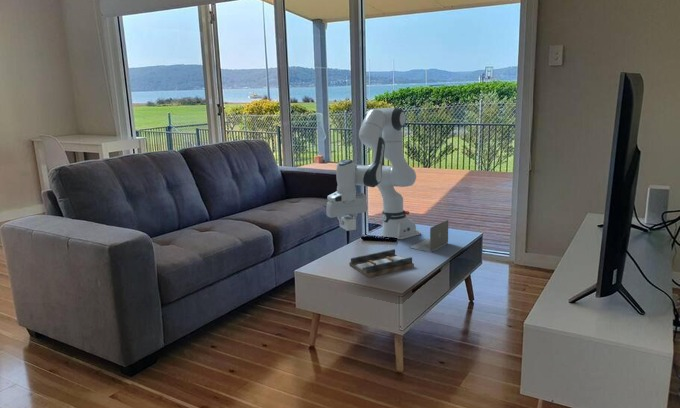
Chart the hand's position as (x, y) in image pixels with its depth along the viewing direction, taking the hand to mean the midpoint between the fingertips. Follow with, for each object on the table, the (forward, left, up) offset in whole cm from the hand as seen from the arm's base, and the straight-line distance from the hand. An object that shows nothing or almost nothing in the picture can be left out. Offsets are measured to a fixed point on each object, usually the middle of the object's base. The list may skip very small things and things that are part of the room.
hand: (347, 223), depth 235 cm
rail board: (-10, +13, -19) cm, 25 cm away
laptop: (-47, +1, -19) cm, 51 cm away
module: (0, 0, -2) cm, 2 cm away
